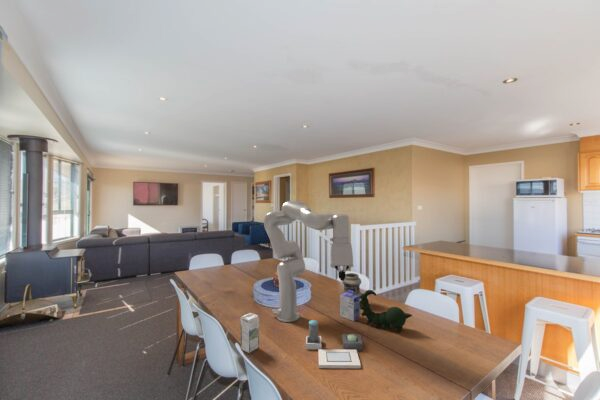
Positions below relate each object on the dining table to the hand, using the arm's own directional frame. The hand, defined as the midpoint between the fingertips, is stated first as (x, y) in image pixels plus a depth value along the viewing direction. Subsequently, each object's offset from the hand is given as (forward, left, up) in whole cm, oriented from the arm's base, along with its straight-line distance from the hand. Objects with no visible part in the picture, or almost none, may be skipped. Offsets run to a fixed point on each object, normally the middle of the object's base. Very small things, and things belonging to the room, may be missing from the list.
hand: (342, 279), depth 127 cm
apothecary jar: (+10, +42, -27) cm, 51 cm away
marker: (-14, -7, -27) cm, 31 cm away
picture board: (-4, -18, -27) cm, 33 cm away
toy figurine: (+22, +10, -27) cm, 37 cm away
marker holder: (-14, -7, -27) cm, 31 cm away
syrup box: (-42, -10, -27) cm, 51 cm away
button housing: (+3, -7, -27) cm, 28 cm away
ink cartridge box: (+6, +22, -27) cm, 36 cm away
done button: (+3, -7, -27) cm, 28 cm away
